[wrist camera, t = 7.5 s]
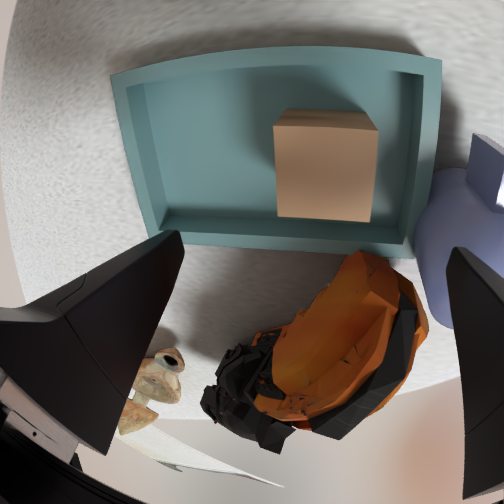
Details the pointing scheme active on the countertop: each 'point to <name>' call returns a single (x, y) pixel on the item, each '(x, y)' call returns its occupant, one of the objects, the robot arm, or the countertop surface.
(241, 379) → the tool
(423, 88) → the tray
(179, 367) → the oil lamp
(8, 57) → the countertop surface
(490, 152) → the mug
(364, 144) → the block walnut
